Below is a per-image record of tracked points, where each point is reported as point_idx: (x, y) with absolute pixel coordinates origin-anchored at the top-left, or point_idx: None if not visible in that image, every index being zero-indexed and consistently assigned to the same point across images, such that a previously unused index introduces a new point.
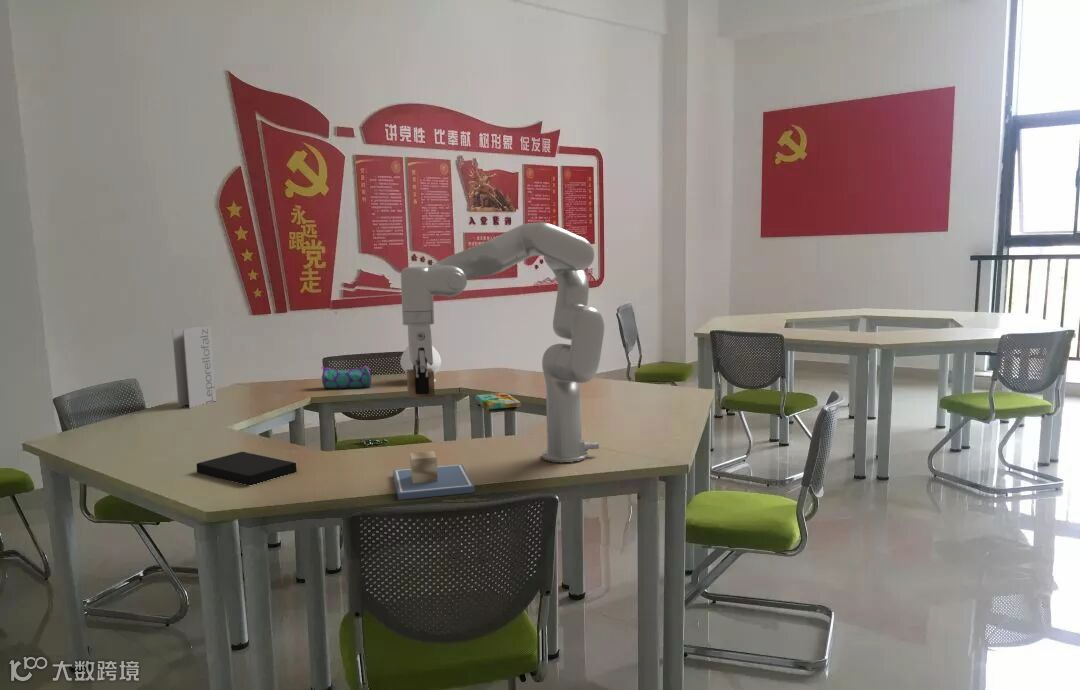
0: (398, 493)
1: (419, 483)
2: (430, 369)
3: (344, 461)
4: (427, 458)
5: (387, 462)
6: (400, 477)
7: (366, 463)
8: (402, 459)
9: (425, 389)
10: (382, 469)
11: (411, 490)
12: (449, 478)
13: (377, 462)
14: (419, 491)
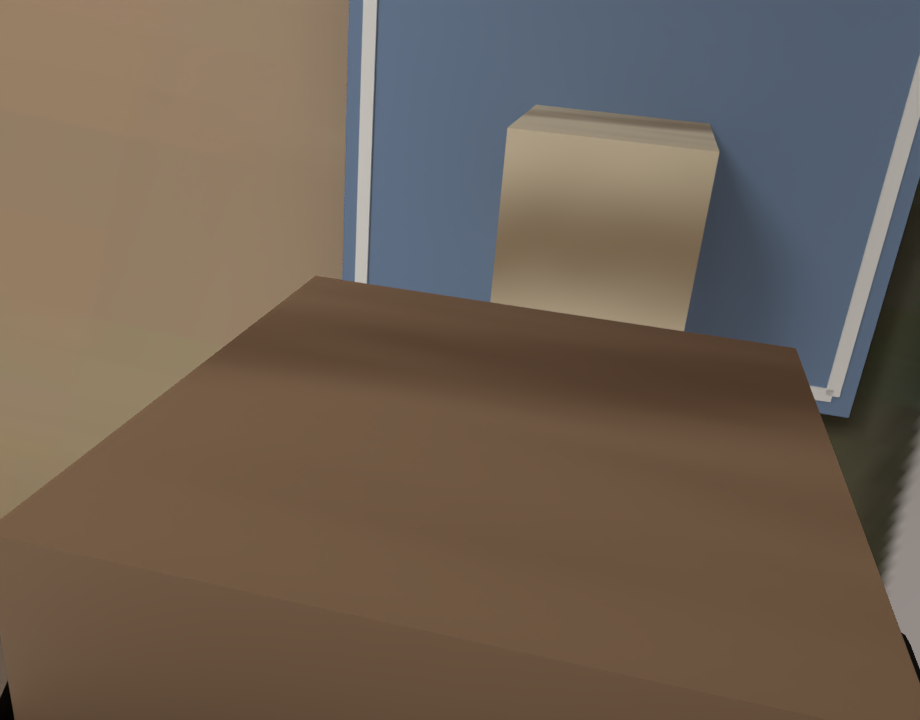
0: (846, 416)
1: (701, 252)
2: (236, 634)
3: (6, 487)
4: (702, 228)
5: (67, 293)
6: None
7: (64, 399)
8: (21, 198)
9: (904, 641)
10: (200, 348)
11: (828, 332)
12: (688, 22)
13: (56, 343)
14: (881, 292)
